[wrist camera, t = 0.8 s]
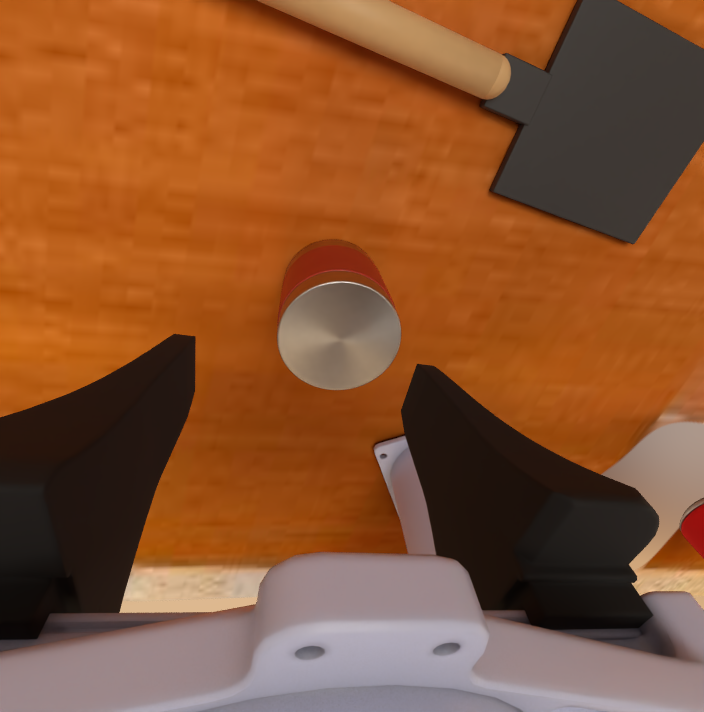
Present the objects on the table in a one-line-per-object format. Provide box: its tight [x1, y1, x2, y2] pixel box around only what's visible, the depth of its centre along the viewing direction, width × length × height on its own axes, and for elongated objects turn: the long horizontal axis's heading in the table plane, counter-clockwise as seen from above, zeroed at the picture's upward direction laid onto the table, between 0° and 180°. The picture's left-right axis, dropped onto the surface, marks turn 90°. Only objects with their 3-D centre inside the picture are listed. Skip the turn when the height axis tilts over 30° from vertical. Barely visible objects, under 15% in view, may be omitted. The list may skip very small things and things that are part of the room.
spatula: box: [257, 0, 704, 244], centre depth 16 cm, size 24×8×2 cm, turn 72°
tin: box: [277, 240, 401, 390], centre depth 19 cm, size 5×5×6 cm
